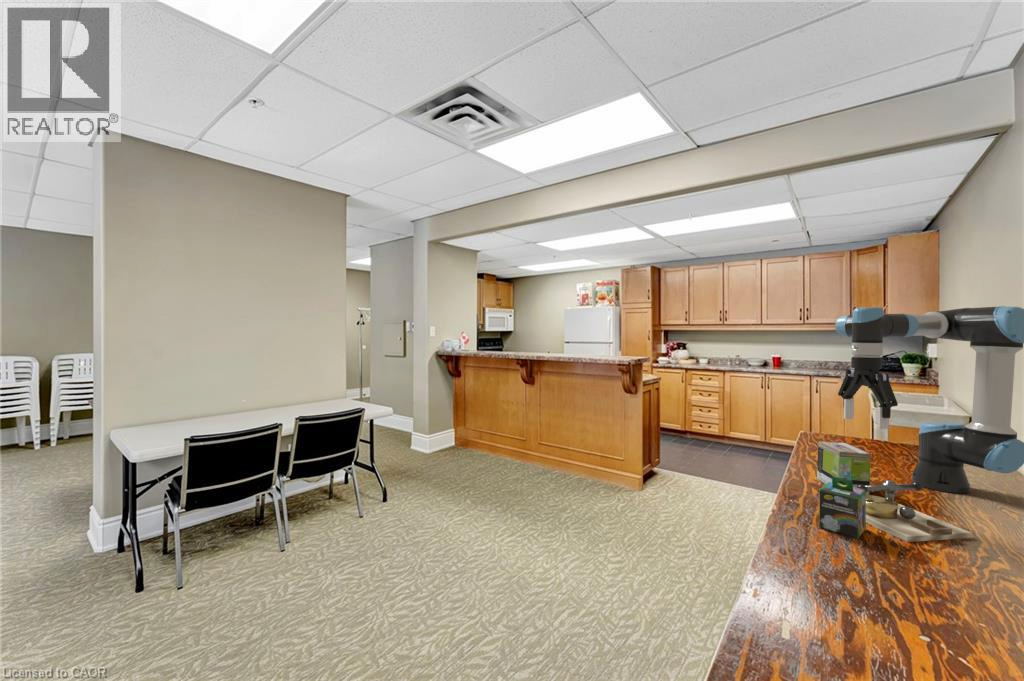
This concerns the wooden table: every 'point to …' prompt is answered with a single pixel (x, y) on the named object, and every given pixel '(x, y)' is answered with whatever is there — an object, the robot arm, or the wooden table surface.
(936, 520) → the stand board
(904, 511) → the ball
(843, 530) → the chalk box
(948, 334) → the robot arm
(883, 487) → the capstan
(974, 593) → the wooden table surface
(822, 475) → the tea box
